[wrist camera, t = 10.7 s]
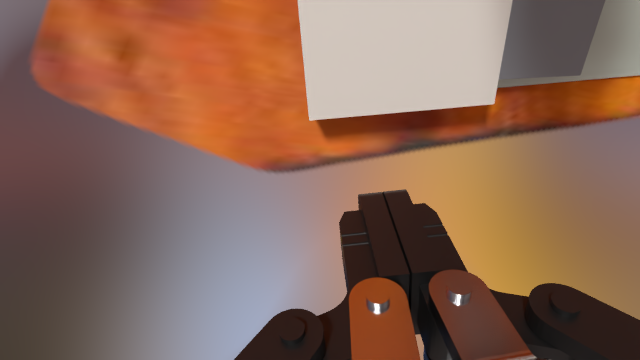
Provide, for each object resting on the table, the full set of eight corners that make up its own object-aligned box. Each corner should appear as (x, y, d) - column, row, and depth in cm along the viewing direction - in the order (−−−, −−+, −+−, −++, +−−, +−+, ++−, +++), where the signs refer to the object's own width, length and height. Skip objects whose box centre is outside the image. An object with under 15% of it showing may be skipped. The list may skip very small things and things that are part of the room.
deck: (497, -60, 29) (523, -61, 26) (475, 89, 36) (494, 104, 32) (294, -42, 29) (293, -41, 26) (308, 104, 36) (309, 120, 32)
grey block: (597, -30, 31) (614, -28, 29) (566, 69, 35) (580, 75, 33) (500, -25, 30) (512, -24, 29) (481, 73, 35) (490, 79, 33)
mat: (701, -79, 29) (705, -79, 29) (643, 73, 36) (645, 74, 35) (498, -61, 29) (500, -61, 29) (476, 88, 36) (477, 89, 35)
